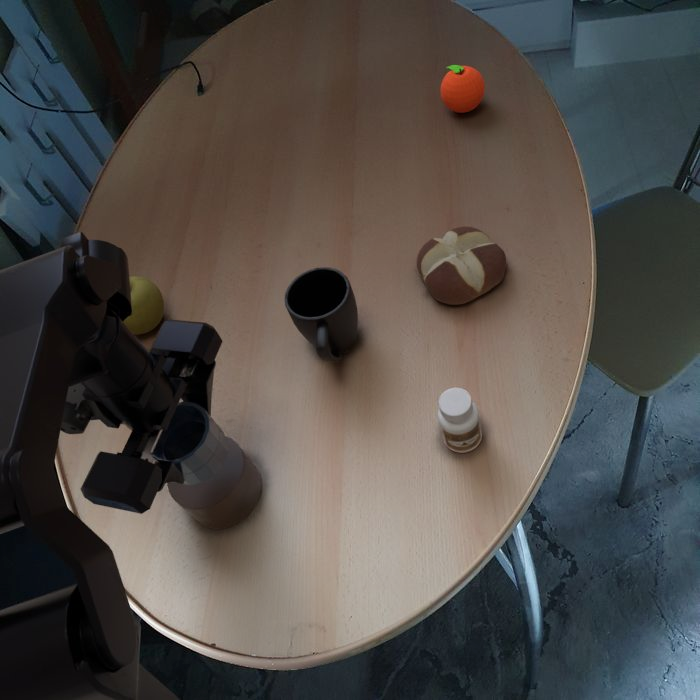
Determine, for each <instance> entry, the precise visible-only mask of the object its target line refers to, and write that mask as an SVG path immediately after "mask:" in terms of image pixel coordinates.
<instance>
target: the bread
mask: <svg viewBox="0 0 700 700" xmlns="http://www.w3.org/2000/svg"><path fill="white" fill-rule="evenodd" d="M506 266H507V256H506V253H505V251H504V250H503V248H501V246H499V245H498V243H494V242H493V241H492V239H491V238H490V236H489V235H487V234H486V233H485V232H484V231H482V230H480V229H478V228H476V227H472V226H459V227H454V228H452V229H450V230H447V231H446V233H444V235H443V237H442V238H439V237H433V238H430V239H429V240H428V241H426V242H425V243H424V244H423V245H422V246H421V248H420V250H419V251H418V253H417V257H416V267H417V272H418V274H419V276H420V278H421V279H422V281H423V282H424V285H425V287H426V289H427V290H428V292H429V293H430V295H431V296H432V297H433V298H434V299H435V300H437V301H438V302H441V303H442V304H443V303H444V304H446V305H454V306H455V305H463V304H467V303H469V302H471V301H473V300H474V299H476V298H478V297H480V296H482V295H484V294H486V293H487V292H489V291H490V290H492V288H494V287H496V286H497V285H498V284H501V282H502V280H503V279H504V276H505V274H506V273H505V272H506V268H507V267H506Z"/></svg>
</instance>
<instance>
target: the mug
mask: <svg viewBox="0 0 700 700" xmlns="http://www.w3.org/2000/svg"><path fill="white" fill-rule="evenodd" d="M284 306H285V308H286V311H287V312H288V314H289V315H288V316H289V317H290V318H291V319H290V320H291V321H292V323H293V324H294V326H295V327H296V329H297V331H298V332H299V333H300V334H301V335H302V336H303V338H304V339H305V340H306V341H308V342H309V344H311V345H312V346H313V347H314V348H316V349H315V350H316V352H317V355H318V357H319V358H320V359H321V360H322V361H325V362H330V363H338V362H340V361H341V360H342V359H343V354H346V353H347V352H348V351H350V350H351V349H352V348H353V347H354V345H355V344H356V341H357V339H358V325H359V323H358V322H359V313H358V305H357V301H356V296H355V292H354V290H353V288H352V285H351V282H350V279H349V278H348V276H347V275H346V274H344V273H343V271H341V270H339V269H337V268H333V267H329V266H328V267H327V266H320V267H314V268H311V269H308V270H306V271H304V272H302V273H300V274H299V275H298V276H296V277H295V278H294V279H293V280H292V281H291V282H290V283H289V285H288V287H287V288H286V291H285V293H284Z"/></svg>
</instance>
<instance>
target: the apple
mask: <svg viewBox="0 0 700 700" xmlns="http://www.w3.org/2000/svg"><path fill="white" fill-rule="evenodd" d="M129 278H130V291H131V304H132V314H131V315H130V316H128V317H127V318H126V319H125V320H124V321H123V322H124V324H125V325H126V326H127V327H128V328H129V330H130V331H131V332H132V333H133V334H134V335H143V334H147V333H149V332H152V331H153V330H154V329H155V328H156V327H158V326H159V324H160V322H161V321H162V318H163V316H164V311H165V302H164V297H163V294H162V292H161V290H160V288H159V287H158V285H156V284H155V282H154V281H152V280H150V279H149V278H146V277H144V276H137V275H136V276H135V275H133V276H129Z"/></svg>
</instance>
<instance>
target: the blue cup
mask: <svg viewBox="0 0 700 700" xmlns="http://www.w3.org/2000/svg"><path fill="white" fill-rule="evenodd" d="M226 436H227V435H226V434H225V432H224V431H223V429H222V428H221V427H220V425H218V423H217V422H216V421H215V420H214V418H213V417H212V415H211V416H210V415H209V414H208V413H207V411H206V410H205V409H204V408H203V407H201V406H200V405H198V404H197V403H193V402H186V401H183V400H182V401H179V403H178V405H177V408H176V410H175V412H174V414H173V417H172V419H171V421H170V423H169V425H168V428H167V430H166V431H162V433H161V435H160V437H159V439H158V441H157V444H156V446H155V448H154V450H153V453H152V455H153V456H154V457H155V459H160V460H165V461H171V462H173V463H174V465H175V466H176V467H177V469H178V470H179V471H180V473H181V474H182V475H183V478H184V483H183V484H186V485H194V484H199V483H203V482H205V481H206V480H208V479H210V478H211V477H213V476H214V475H215V474H216V473H217V472H218V471H219V470H220V468H221V467H222V466H223V464H224V463H225V460H226V457H227V455H228V440H227V438H226Z"/></svg>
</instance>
